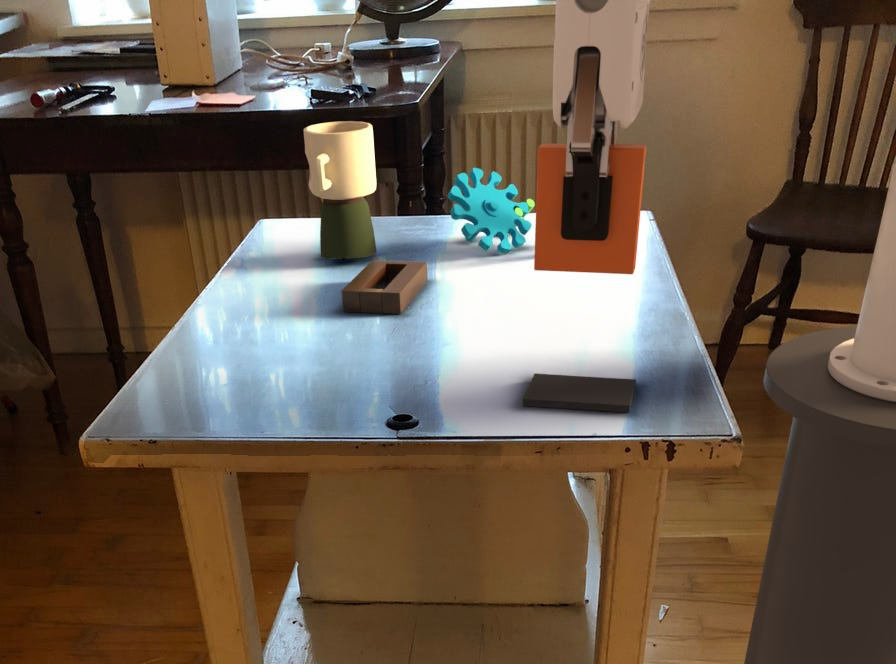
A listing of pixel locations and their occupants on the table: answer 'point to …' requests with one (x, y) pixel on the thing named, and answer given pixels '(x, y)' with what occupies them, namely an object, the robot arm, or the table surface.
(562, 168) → the orange rectangular board
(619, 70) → the robot arm
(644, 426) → the table surface
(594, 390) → the mat
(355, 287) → the frame
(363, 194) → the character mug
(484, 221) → the gear
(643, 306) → the table surface
